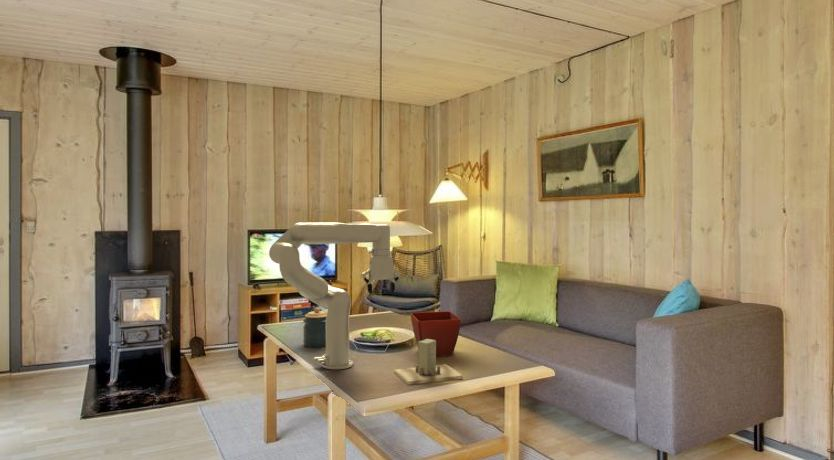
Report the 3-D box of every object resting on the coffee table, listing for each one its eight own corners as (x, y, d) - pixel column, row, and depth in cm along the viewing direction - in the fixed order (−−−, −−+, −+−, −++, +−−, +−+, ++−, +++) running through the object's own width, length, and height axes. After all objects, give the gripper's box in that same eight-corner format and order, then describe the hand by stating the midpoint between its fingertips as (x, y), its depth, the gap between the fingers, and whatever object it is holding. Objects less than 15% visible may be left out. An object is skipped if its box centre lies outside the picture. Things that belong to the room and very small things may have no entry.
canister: (298, 344, 255) (298, 307, 255) (323, 340, 263) (322, 304, 263) (310, 349, 245) (310, 311, 244) (335, 345, 253) (335, 308, 252)
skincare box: (427, 369, 210) (427, 338, 209) (436, 371, 207) (436, 340, 206) (417, 372, 205) (417, 341, 204) (426, 375, 202) (426, 343, 202)
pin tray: (407, 384, 194) (407, 374, 194) (394, 372, 209) (394, 363, 209) (462, 378, 202) (462, 368, 202) (446, 367, 217) (446, 358, 217)
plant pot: (418, 360, 228) (418, 320, 227) (410, 348, 247) (410, 312, 246) (461, 357, 232) (461, 319, 231) (450, 347, 250) (450, 311, 250)
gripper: (363, 254, 223) (363, 294, 223) (403, 253, 229) (403, 293, 229) (359, 252, 230) (359, 292, 230) (397, 251, 236) (397, 290, 236)
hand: (381, 292), depth 230 cm, fingers open, 9 cm apart
